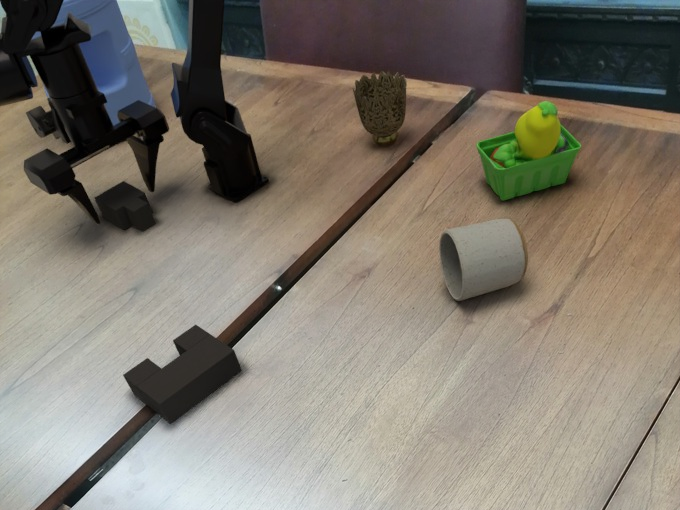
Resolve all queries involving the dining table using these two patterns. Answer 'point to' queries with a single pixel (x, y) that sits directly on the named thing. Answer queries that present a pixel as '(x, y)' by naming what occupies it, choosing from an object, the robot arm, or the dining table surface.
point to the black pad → (126, 207)
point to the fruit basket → (529, 154)
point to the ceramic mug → (482, 257)
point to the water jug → (109, 54)
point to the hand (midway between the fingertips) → (125, 206)
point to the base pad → (184, 374)
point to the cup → (381, 105)
